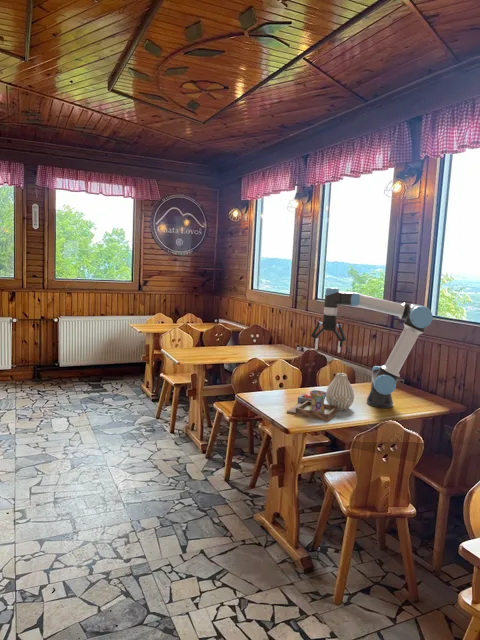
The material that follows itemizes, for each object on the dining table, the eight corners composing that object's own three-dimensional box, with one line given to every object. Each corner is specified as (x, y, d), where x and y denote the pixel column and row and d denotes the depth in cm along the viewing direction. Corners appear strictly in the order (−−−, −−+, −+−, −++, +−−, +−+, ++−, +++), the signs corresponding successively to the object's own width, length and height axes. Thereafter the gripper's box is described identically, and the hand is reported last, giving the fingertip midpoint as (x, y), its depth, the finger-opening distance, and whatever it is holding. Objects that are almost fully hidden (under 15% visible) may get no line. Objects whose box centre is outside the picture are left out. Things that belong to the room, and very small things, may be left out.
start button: (312, 401, 275) (313, 394, 274) (310, 403, 271) (310, 396, 270) (305, 399, 277) (305, 393, 277) (302, 401, 273) (302, 394, 272)
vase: (323, 403, 276) (325, 370, 274) (350, 405, 276) (352, 371, 274) (327, 411, 261) (329, 376, 258) (355, 413, 260) (358, 378, 258)
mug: (328, 413, 252) (330, 394, 251) (313, 414, 249) (315, 395, 248) (317, 406, 263) (318, 388, 262) (302, 407, 260) (304, 389, 259)
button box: (317, 403, 276) (317, 396, 275) (312, 406, 268) (312, 400, 267) (302, 400, 280) (303, 393, 280) (297, 403, 272) (297, 397, 272)
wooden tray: (337, 412, 259) (338, 406, 259) (327, 421, 243) (328, 414, 243) (298, 405, 270) (299, 398, 269) (286, 412, 254) (287, 406, 253)
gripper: (353, 316, 266) (350, 352, 269) (311, 312, 278) (309, 347, 280) (350, 317, 260) (346, 354, 262) (307, 312, 271) (304, 348, 274)
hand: (327, 351), depth 271 cm, fingers open, 13 cm apart
